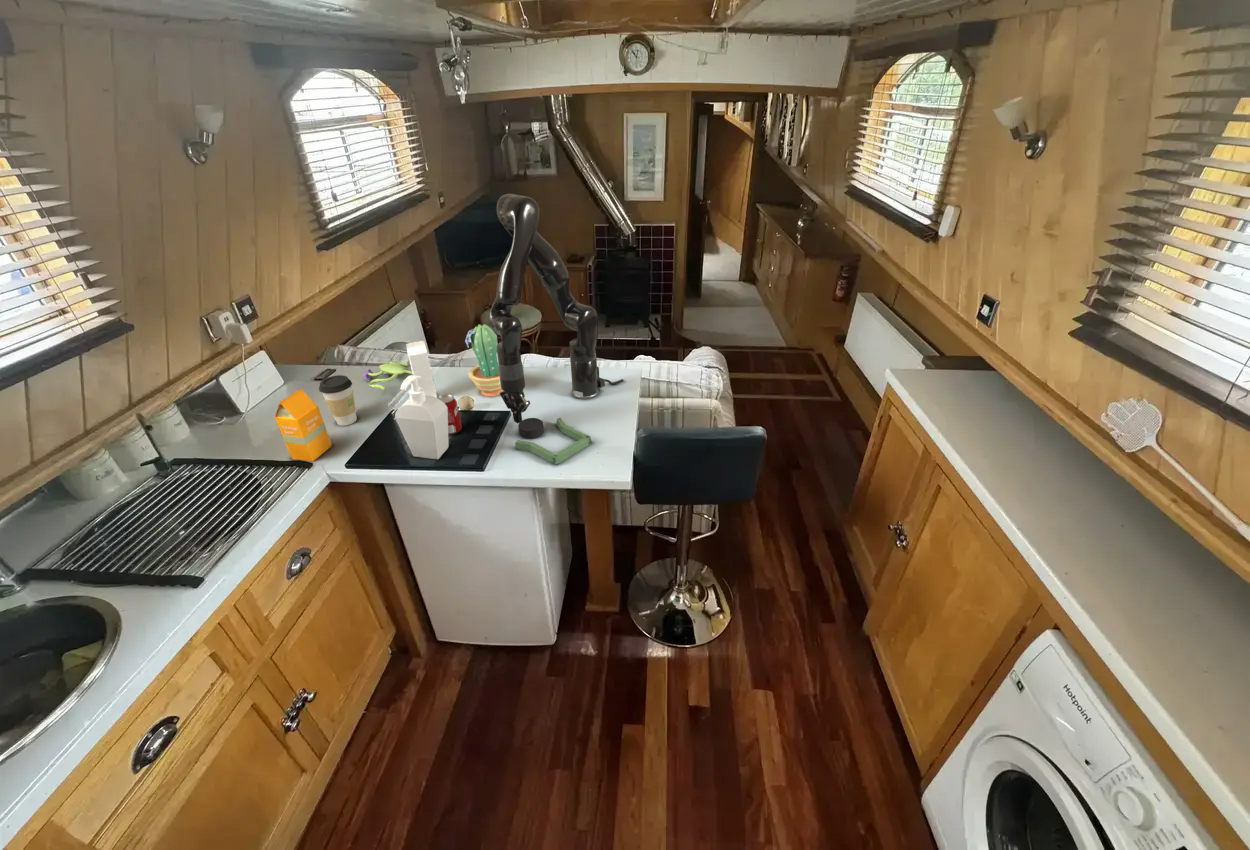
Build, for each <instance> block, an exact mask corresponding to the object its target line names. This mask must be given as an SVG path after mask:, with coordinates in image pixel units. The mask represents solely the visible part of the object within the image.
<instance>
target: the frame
mask: <svg viewBox="0 0 1250 850" xmlns="http://www.w3.org/2000/svg"><path fill="white" fill-rule="evenodd" d="M555 421H556V426H557V427H558V429H559V430H560V432H561V433H562V434H564V435H566V436H567V437H570V438H572V439H574V440H576V441H574V442H573V443H572V444H570V445H568V446H567V447H565V448H563V449H561V450H560V451H558V452H557V453H555V452H552V451H551V450H548V449H547V448H545V447H543V446H541V445H539V444H537V443H535V442H533V441H527V440H523V439H522V440H521V439H517V440H516V441H515V449H516V450H518V451H519V450H520V451H527V452H531V453H533V454H534V455H536V456H538V457H541V458H542V459H544V460H545V461H548V462H549V463H551V464H553V465H554V466H557V465H558V464H560V463H563V461H565V460H567V459H568V458H570V457H572V456H573V455H575V454H577V453H579V452H580V451H581V450H583V449H585V448H586V447H588V446H589V445H591V444H592V437H591V436H590V435H588V434H586V433H584V432H581V431H579V430H577V429H576V428H573V427H571V426H570V425H567V424H566V423H565V422H564V420H563V419H562V418H561V417H557V418H556V420H555Z"/></svg>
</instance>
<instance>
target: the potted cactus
mask: <svg viewBox="0 0 1250 850" xmlns="http://www.w3.org/2000/svg"><path fill="white" fill-rule="evenodd" d="M464 342H465V344H466V347H467V348H468V349H469V348H470V346H471V350H472V351H473V353H474V355H475V356H476V359H477V362H478V364H477V365H475V366H473V367H471V369H470V370H469V371H468V376H469V379H470V381H472V382H473V384H474V385H475V387H476V388H477V389H478V390H479V391H480V393H481V395H482V396H485V397H496V396H499V395H500V393H501V392H503V390H502V388H501V383H500V376H499V369H498V357H497V345H498V344H499V343H498V335H497V333H495V332H493V331H492V330H491V328H490V326H489V324H487V323H486V324H485V323H484V324H478V325H475V326H474V328H472V329H470V330H468V331H467V334H466V337H465V340H464ZM469 345H470V346H469ZM500 396H501V395H500Z"/></svg>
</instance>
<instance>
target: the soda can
mask: <svg viewBox="0 0 1250 850" xmlns="http://www.w3.org/2000/svg"><path fill="white" fill-rule="evenodd" d="M437 398H438V399H439V400H441V401H442V402H443V403H445V405H446V406H447V407H448V436H449V435H455V434H457V433H459V432H461V430H462V429H463V425H462V420H461V415H460V409H459V405H458V400H457V399H455V396H454V395H453V394H451V393H450V394H449V393H445V394H444V393H443V394H440V395H439V396H438V395H437Z"/></svg>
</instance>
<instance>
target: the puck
mask: <svg viewBox="0 0 1250 850" xmlns="http://www.w3.org/2000/svg"><path fill="white" fill-rule="evenodd" d="M517 427H518V436H520V437H521V438H522V439H526V440H533V439H537V438H539V437H542V436H543V434H544V433H545V425H544V422H543V420H542V419H540V418H537V417H528V418H524V419H522V421H521V422H519V423H517Z"/></svg>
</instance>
